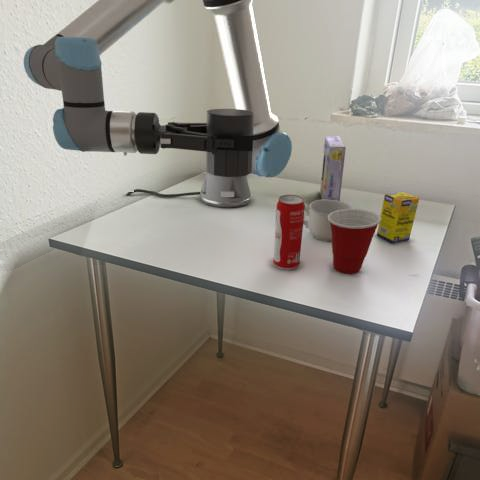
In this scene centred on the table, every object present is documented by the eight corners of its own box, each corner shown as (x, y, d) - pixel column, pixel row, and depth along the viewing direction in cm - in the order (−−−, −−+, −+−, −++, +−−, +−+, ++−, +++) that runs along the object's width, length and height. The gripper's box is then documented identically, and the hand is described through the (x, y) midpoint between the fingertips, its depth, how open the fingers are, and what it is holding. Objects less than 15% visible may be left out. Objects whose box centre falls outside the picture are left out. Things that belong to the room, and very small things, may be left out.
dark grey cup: (199, 173, 93) (198, 112, 87) (217, 163, 100) (218, 107, 94) (241, 179, 90) (243, 117, 84) (257, 169, 97) (260, 111, 91)
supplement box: (392, 244, 116) (401, 200, 111) (375, 235, 121) (384, 193, 115) (410, 240, 119) (420, 197, 113) (393, 232, 123) (402, 191, 118)
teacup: (351, 233, 122) (356, 202, 118) (345, 248, 113) (350, 215, 109) (298, 225, 125) (302, 195, 121) (288, 239, 117) (292, 207, 112)
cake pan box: (318, 191, 154) (325, 133, 145) (333, 192, 154) (341, 134, 144) (321, 209, 137) (330, 146, 128) (339, 210, 137) (348, 147, 128)
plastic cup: (315, 258, 107) (322, 206, 101) (362, 258, 108) (371, 207, 102) (327, 279, 98) (335, 224, 92) (377, 279, 99) (389, 224, 93)
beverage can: (299, 260, 106) (306, 193, 98) (299, 272, 100) (307, 203, 92) (272, 258, 106) (277, 191, 98) (271, 270, 101) (276, 201, 93)
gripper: (149, 142, 103) (252, 146, 103) (125, 166, 84) (251, 171, 84) (147, 104, 99) (254, 109, 99) (121, 121, 80) (253, 127, 80)
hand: (252, 138), depth 91 cm, fingers closed on dark grey cup, 9 cm apart
